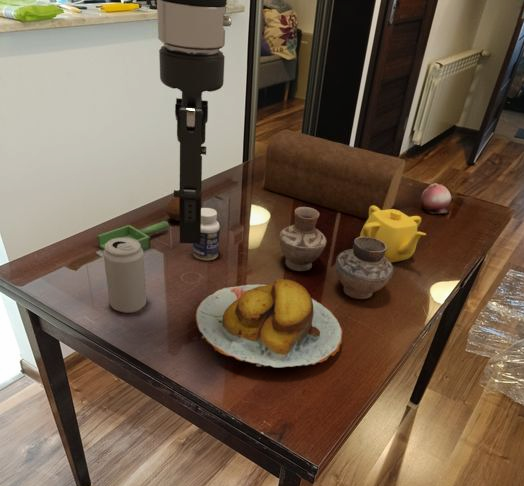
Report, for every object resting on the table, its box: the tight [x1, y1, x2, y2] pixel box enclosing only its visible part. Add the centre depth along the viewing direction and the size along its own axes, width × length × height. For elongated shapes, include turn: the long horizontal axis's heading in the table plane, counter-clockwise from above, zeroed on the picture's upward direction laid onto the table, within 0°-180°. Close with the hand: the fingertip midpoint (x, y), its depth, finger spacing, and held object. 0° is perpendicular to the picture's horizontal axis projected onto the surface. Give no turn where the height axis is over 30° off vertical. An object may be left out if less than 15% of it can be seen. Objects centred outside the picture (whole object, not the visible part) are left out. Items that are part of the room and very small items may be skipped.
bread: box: [262, 128, 406, 221], centre depth 128 cm, size 14×34×14 cm, turn 63°
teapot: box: [359, 206, 427, 263], centre depth 108 cm, size 14×13×10 cm
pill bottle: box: [192, 207, 221, 262], centre depth 100 cm, size 5×5×10 cm
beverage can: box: [103, 237, 147, 314], centre depth 83 cm, size 6×6×12 cm
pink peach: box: [420, 182, 452, 215], centre depth 131 cm, size 8×8×7 cm
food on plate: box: [194, 278, 344, 368], centre depth 83 cm, size 25×25×7 cm
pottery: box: [278, 206, 395, 300], centre depth 97 cm, size 11×25×12 cm, turn 54°
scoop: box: [96, 220, 169, 252], centre depth 103 cm, size 16×7×3 cm, turn 139°
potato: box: [166, 196, 204, 222], centre depth 112 cm, size 7×10×6 cm
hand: (191, 219), depth 69 cm, fingers open, 13 cm apart
